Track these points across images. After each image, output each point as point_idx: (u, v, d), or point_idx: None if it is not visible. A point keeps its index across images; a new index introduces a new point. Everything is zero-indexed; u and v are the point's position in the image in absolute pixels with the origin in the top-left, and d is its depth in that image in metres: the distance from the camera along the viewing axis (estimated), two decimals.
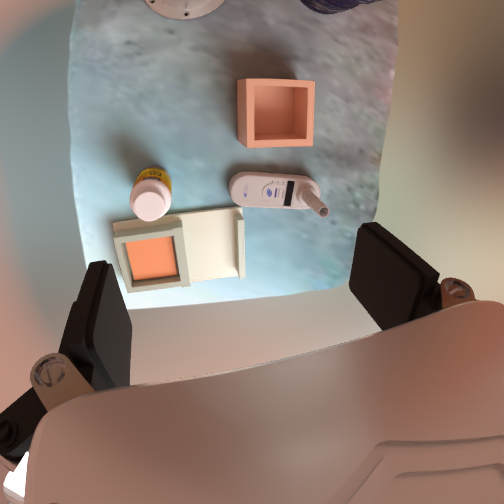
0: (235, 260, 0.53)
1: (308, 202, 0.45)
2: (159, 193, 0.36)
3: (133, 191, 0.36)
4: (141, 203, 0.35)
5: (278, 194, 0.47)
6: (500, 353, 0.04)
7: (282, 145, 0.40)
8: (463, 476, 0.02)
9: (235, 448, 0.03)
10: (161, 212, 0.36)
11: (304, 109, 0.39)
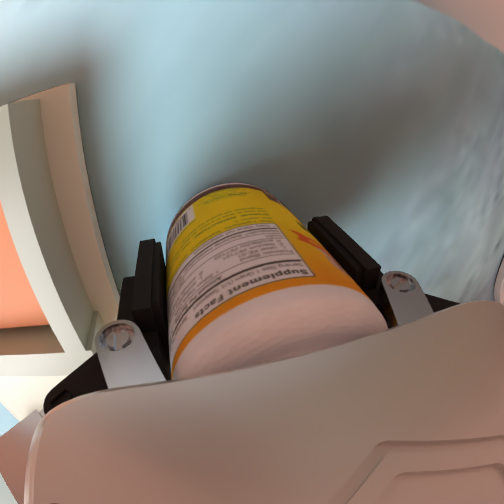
0: None
1: None
2: None
3: (372, 321, 0.06)
4: None
5: None
6: (500, 353, 0.04)
7: None
8: (463, 476, 0.02)
9: (235, 448, 0.03)
10: None
11: None
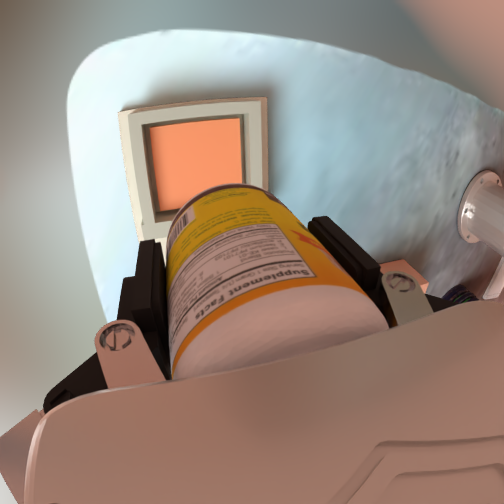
0: None
1: None
2: None
3: (374, 322, 0.06)
4: None
5: None
6: (500, 353, 0.04)
7: None
8: (463, 476, 0.02)
9: (235, 448, 0.03)
10: None
11: None
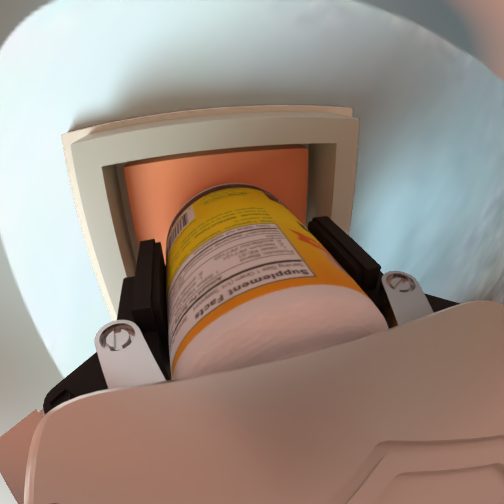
0: None
1: None
2: None
3: (373, 321, 0.06)
4: None
5: None
6: (500, 353, 0.04)
7: None
8: (463, 476, 0.02)
9: (235, 448, 0.03)
10: None
11: None
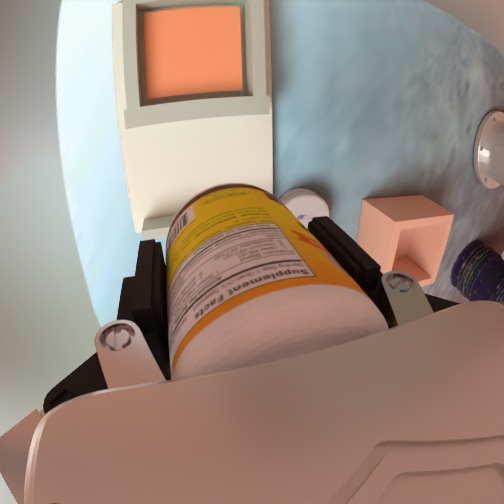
0: (168, 214, 0.27)
1: None
2: None
3: (373, 321, 0.06)
4: None
5: None
6: (500, 353, 0.04)
7: (387, 265, 0.29)
8: (463, 476, 0.02)
9: (235, 448, 0.03)
10: None
11: None
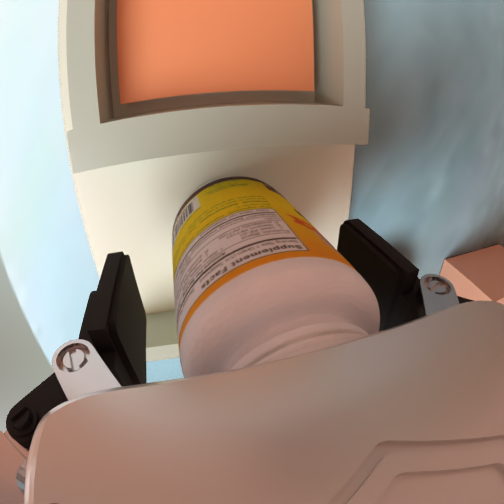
0: (171, 308, 0.16)
1: None
2: None
3: (361, 291, 0.07)
4: None
5: None
6: (500, 353, 0.04)
7: None
8: (463, 476, 0.02)
9: (235, 448, 0.03)
10: None
11: None
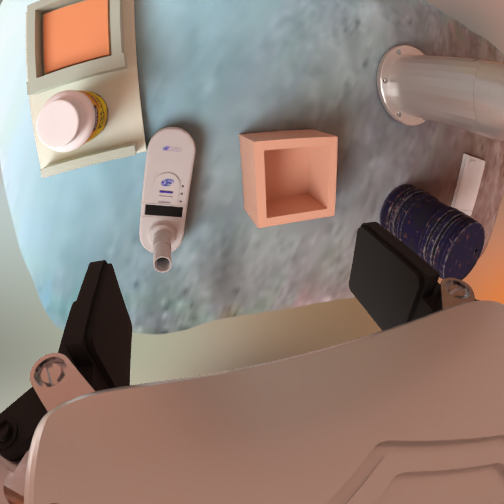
0: (64, 158, 0.28)
1: (162, 239, 0.31)
2: (76, 135, 0.20)
3: (78, 94, 0.19)
4: (61, 112, 0.18)
5: (163, 195, 0.32)
6: (500, 353, 0.04)
7: (257, 188, 0.31)
8: (463, 476, 0.02)
9: (235, 448, 0.03)
10: (49, 144, 0.19)
11: (298, 209, 0.35)
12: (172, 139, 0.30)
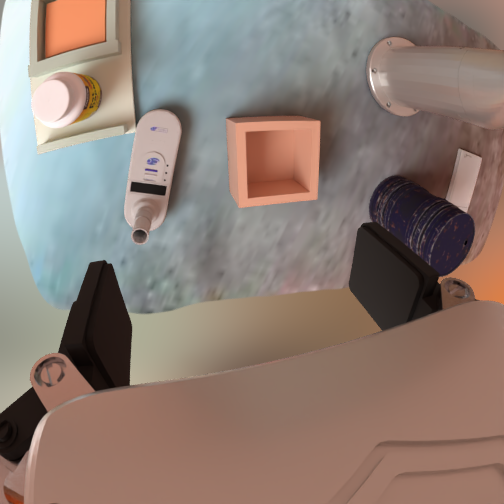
0: (59, 137, 0.29)
1: (143, 214, 0.32)
2: (66, 112, 0.20)
3: (71, 75, 0.20)
4: (55, 90, 0.19)
5: (148, 173, 0.33)
6: (500, 353, 0.04)
7: (238, 168, 0.32)
8: (463, 476, 0.02)
9: (235, 448, 0.03)
10: (42, 119, 0.19)
11: (280, 191, 0.35)
12: (160, 120, 0.30)
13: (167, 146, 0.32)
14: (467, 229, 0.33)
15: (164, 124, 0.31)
